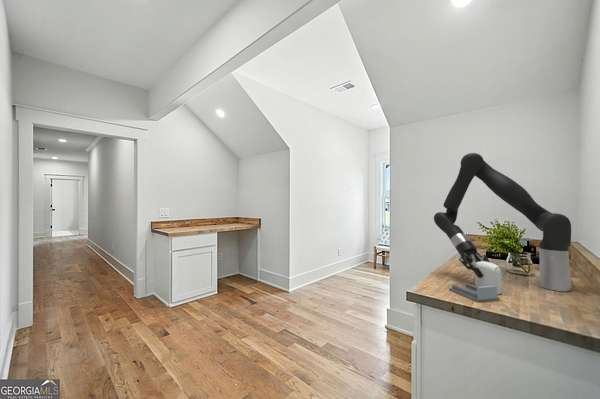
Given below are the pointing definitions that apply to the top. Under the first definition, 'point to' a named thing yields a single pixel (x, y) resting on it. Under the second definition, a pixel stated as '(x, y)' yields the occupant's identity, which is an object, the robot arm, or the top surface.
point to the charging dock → (477, 292)
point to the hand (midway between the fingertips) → (486, 276)
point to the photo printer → (489, 275)
